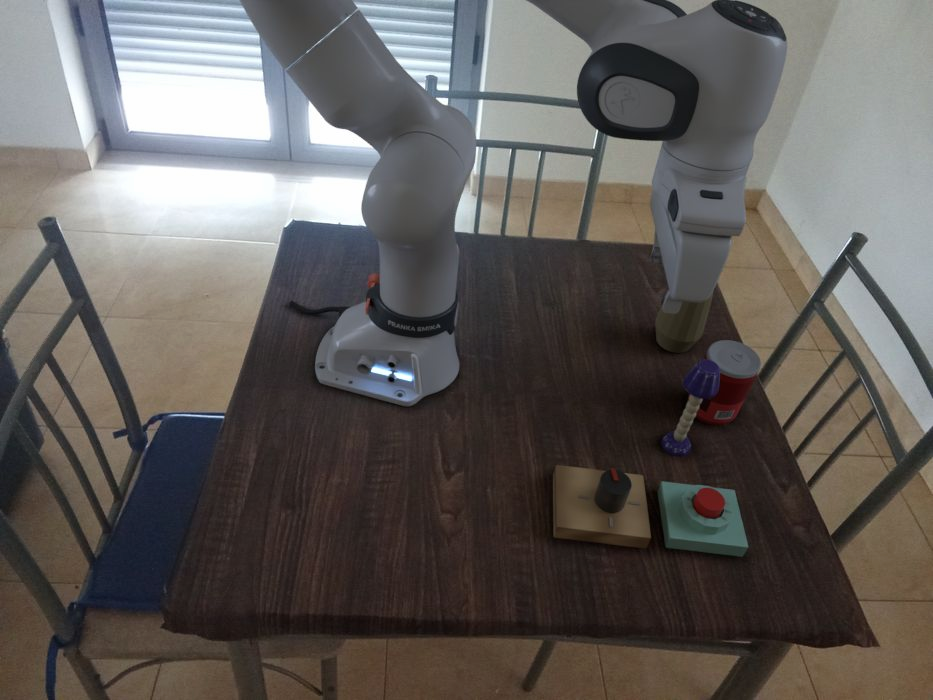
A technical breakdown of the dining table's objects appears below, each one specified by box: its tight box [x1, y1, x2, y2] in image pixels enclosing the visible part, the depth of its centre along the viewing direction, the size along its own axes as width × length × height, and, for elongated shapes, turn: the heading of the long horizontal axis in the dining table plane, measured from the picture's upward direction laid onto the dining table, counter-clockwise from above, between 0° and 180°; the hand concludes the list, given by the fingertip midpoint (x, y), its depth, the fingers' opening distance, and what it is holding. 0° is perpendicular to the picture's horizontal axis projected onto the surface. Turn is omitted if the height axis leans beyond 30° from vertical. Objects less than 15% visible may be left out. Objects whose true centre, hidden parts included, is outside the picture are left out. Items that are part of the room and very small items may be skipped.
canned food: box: [687, 339, 762, 426], centre depth 108 cm, size 8×8×11 cm
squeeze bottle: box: [654, 291, 714, 354], centre depth 116 cm, size 8×8×18 cm
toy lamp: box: [660, 358, 720, 458], centre depth 99 cm, size 5×5×17 cm
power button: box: [693, 488, 725, 518], centre depth 92 cm, size 4×4×2 cm
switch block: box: [657, 480, 749, 558], centre depth 94 cm, size 10×9×4 cm
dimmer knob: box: [594, 467, 632, 513], centre depth 92 cm, size 4×4×4 cm
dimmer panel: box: [552, 464, 652, 549], centre depth 94 cm, size 12×10×3 cm
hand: (663, 284), depth 82 cm, fingers open, 8 cm apart
